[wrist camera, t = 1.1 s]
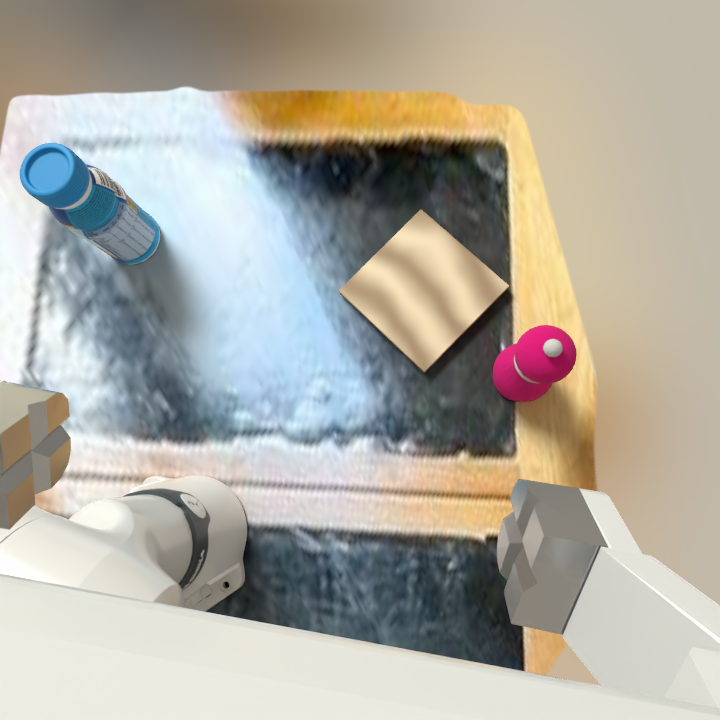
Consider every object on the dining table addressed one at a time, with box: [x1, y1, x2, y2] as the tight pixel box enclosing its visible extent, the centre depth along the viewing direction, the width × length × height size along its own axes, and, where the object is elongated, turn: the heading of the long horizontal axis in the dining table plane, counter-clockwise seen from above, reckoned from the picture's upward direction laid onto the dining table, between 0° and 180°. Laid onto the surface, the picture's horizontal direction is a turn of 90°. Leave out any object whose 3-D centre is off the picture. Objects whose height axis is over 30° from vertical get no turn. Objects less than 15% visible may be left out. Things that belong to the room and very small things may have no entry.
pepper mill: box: [493, 325, 576, 402], centre depth 62 cm, size 7×7×20 cm
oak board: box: [339, 210, 509, 373], centre depth 75 cm, size 16×16×2 cm
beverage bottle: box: [20, 143, 160, 264], centre depth 71 cm, size 8×8×20 cm
